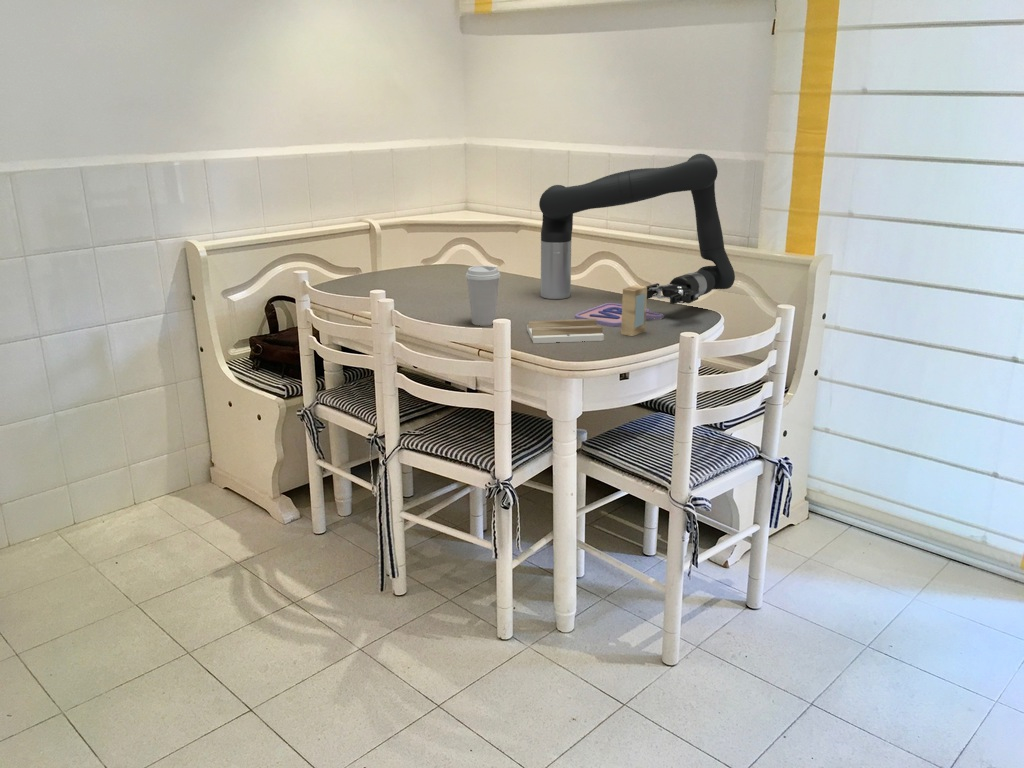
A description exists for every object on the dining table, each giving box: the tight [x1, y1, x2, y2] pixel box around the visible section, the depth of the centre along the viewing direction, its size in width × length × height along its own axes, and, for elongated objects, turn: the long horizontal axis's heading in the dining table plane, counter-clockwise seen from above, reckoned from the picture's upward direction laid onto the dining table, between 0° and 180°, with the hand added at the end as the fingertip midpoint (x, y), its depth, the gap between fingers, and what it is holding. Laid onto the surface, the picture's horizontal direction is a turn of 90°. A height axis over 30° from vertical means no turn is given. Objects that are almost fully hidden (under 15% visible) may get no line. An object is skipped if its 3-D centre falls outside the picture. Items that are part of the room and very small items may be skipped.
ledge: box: [526, 318, 605, 344], centre depth 214 cm, size 12×18×3 cm, turn 97°
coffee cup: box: [464, 265, 502, 327], centre depth 224 cm, size 10×10×15 cm
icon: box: [574, 302, 665, 328], centre depth 231 cm, size 19×2×20 cm
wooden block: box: [620, 284, 648, 337], centre depth 214 cm, size 6×4×12 cm, turn 139°
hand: (657, 298), depth 222 cm, fingers open, 8 cm apart
